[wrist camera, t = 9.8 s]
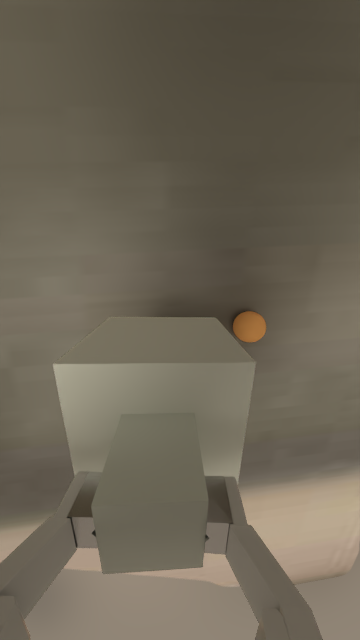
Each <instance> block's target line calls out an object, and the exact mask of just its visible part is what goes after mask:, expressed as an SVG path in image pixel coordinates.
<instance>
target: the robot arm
mask: <svg viewBox="0 0 360 640" xmlns="http://www.w3.org/2000/svg"><path fill="white" fill-rule="evenodd" d="M101 475H102V472H90V471H79V472H78V473H77V474H76V475H75V477H74V479H73V481H72V483H71V484H70V486H69V488H68V490H67V492H66V494H65V496H64V498H63V499H62V501H61V503H60V505H59V507H58V509H57V511H56V513H55V514H54V516H53V517H49V518H48V519H47V520H46V521H45V522H44V523H43V524H42V525H41V526H40V527H38V528H37V529H36V530H35V531H34V532H33V533H32V534H31V535H30V536H29V537H28V538H27V539H26V540H25V541H24V542H23V543H21V544H20V545H19V546H18V547H17V548H16V549H15V550H14V551H13V552H12V553H11V554H10V555H9V556H8V557H7V558H6V559H5V560H3V561H2V562H1V563H0V640H30V634H29V631H28V629H27V627H26V624H25V621H24V619H25V618H26V617H27V615H28V614H29V613H30V611H31V610H32V609H33V607H34V606H35V605H36V603H37V602H38V601H39V599H40V598H41V597H42V595H43V594H44V592H45V591H46V590H47V589H48V587H49V586H50V585H51V583H52V582H53V581H54V579H55V578H56V577H57V575H58V574H59V573H60V571H61V570H62V569H63V567H64V566H65V565H66V563H67V562H68V561H69V559H70V558H71V557H72V555H73V554H74V553H75V551H76V550H77V549H76V548H98V544H97V538H96V532H95V526H94V521H93V515H92V509H91V505H92V502H93V499H94V496H95V493H96V490H97V487H98V484H99V481H100V478H101ZM205 481H206V487H207V494H208V500H209V502H208V513H207V521H206V535H205V543H204V553H213V554H225V555H226V558H227V560H228V562H229V564H230V566H231V568H232V570H233V572H234V574H235V576H236V578H237V580H238V582H239V584H240V586H241V588H242V590H243V592H244V594H245V596H246V598H247V600H248V602H249V604H250V606H251V608H252V610H253V613H254V614H255V616H256V619H257V621H258V623H259V626H258V630H257V633H256V637H255V640H323V639H322V637H321V634H320V631H319V629H318V626H317V623H316V621H315V618H314V615H313V613H312V610H311V608H310V607H309V605H308V604H307V602H306V601H305V600H304V598H303V597H302V595H301V594H300V593H299V591H298V590H297V589H296V587H295V586H294V584H293V583H292V582H291V580H290V579H289V577H288V576H287V575H286V573H285V572H284V570H283V569H282V568H281V566H280V565H279V563H278V562H277V561H276V559H275V558H274V556H273V555H272V554H271V552H270V551H269V549H268V548H267V547H266V545H265V544H264V542H263V541H262V540H261V538H260V537H259V535H258V534H257V533H256V531H255V530H254V528H253V527H252V526H251V525H248V524H247V520H246V516H245V513H244V509H243V505H242V501H241V497H240V493H239V489H238V485H237V481H236V479H235V477H226V476H205Z"/></svg>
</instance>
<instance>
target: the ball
mask: <svg viewBox="0 0 360 640" xmlns="http://www.w3.org/2000/svg"><path fill="white" fill-rule="evenodd" d="M233 331H234V333H235V335H236V336H237V337H238V338H239V339H240V340H242V341H244V342H255V341H258V340H259V339H261V338H262V337H263V335H264V334H265V331H266V323H265V320H264V319H263V317H262V316H261V315H259V314H258V313H256V312H252V311H247V312H243V313H241V314H239V315H238V316H237V317H236V318H235V320H234V323H233Z"/></svg>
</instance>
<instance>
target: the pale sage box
mask: <svg viewBox="0 0 360 640" xmlns="http://www.w3.org/2000/svg"><path fill="white" fill-rule="evenodd" d="M255 366H256V362H255V361H254V360H253V359H252V357H251V356H250V355H249V354H248V353H247V352H246V351H245V350H244V348H243V347H242V346H241V345H240V344H239V343H238V342H237V341H236V340H235V338H234V337H233V336H232V335H231V334H230V333H229V332H228V331H227V329H226V328H225V327H224V326H223V325H222V324H221V323H220V322H219V320H218V319H217V318H216V317H109V318H108V319H107V320H105V321H104V322H103V323H102V324H101V325H99V326H98V327H97V328H96V329H95V330H93V331H92V332H91V333H90V334H89V335H87V336H86V337H85V338H84V339H83V340H81V341H80V342H79V343H78V344H77V345H75V346H74V347H73V348H72V349H70V350H69V351H68V352H67V353H66V354H64V355H63V356H62V357H61V358H60V359H58V360H57V361H56V362H55V363H54V364H53V368H54V373H55V378H56V383H57V388H58V393H59V398H60V403H61V409H62V414H63V419H64V424H65V429H66V434H67V439H68V444H69V449H70V454H71V460H72V465H73V470H74V475H76V474H77V473H78V472H79V471H90V472H102V475H101V478H100V481H99V484H98V487H97V490H96V493H95V496H94V499H93V502H92V505H91V509H92V515H93V521H94V526H95V532H96V538H97V544H98V550H99V555H100V561H101V567H102V573H103V574H113V573H128V572H142V571H157V570H171V569H186V568H201V567H203V557H204V543H205V535H206V521H207V513H208V502H209V500H208V494H207V487H206V481H205V476H226V477H235V479H236V481H237V485H238V479H239V472H240V465H241V459H242V452H243V445H244V439H245V432H246V425H247V419H248V412H249V406H250V399H251V392H252V386H253V379H254V372H255Z"/></svg>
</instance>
